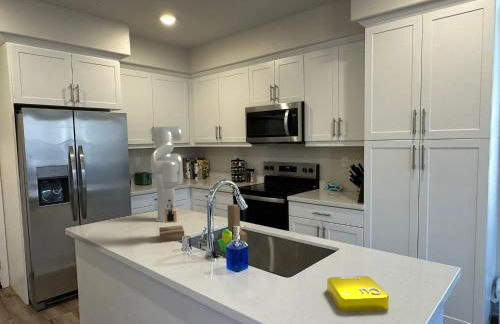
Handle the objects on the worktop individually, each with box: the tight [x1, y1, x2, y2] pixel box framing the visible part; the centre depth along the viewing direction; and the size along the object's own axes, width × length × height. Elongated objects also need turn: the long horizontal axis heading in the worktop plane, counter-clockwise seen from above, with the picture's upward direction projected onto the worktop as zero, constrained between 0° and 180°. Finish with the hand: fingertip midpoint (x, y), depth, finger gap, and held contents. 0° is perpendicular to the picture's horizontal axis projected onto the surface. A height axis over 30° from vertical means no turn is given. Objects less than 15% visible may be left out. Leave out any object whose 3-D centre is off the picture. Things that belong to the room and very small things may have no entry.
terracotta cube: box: [164, 207, 178, 224], centre depth 166 cm, size 6×6×6 cm
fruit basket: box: [217, 228, 246, 254], centre depth 143 cm, size 11×9×11 cm
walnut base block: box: [158, 225, 185, 244], centre depth 166 cm, size 12×12×5 cm
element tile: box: [326, 275, 389, 313], centre depth 100 cm, size 15×15×5 cm
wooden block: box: [227, 203, 248, 243], centre depth 159 cm, size 9×4×18 cm, turn 50°
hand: (171, 219), depth 166 cm, fingers closed on terracotta cube, 6 cm apart
